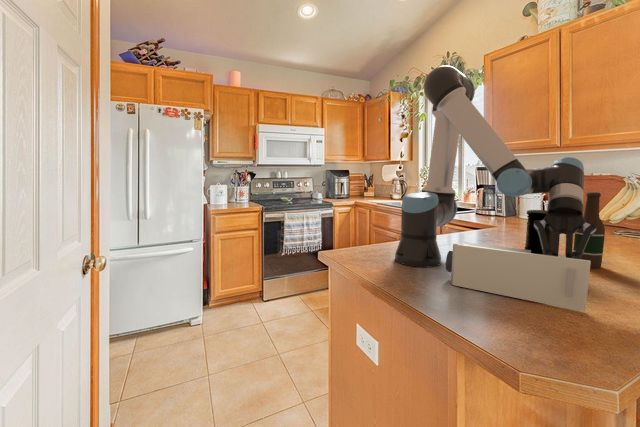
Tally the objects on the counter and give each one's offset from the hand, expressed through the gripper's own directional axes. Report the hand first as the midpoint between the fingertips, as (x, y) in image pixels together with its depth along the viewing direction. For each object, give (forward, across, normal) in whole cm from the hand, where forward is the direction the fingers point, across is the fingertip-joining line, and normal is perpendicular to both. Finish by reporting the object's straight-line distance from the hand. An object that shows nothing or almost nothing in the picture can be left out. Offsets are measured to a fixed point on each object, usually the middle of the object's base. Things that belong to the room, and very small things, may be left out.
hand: (560, 280), depth 72 cm
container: (-19, +5, -27) cm, 33 cm away
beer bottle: (-26, -7, -33) cm, 43 cm away
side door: (+7, +9, 0) cm, 11 cm away
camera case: (+2, +16, -5) cm, 17 cm away
